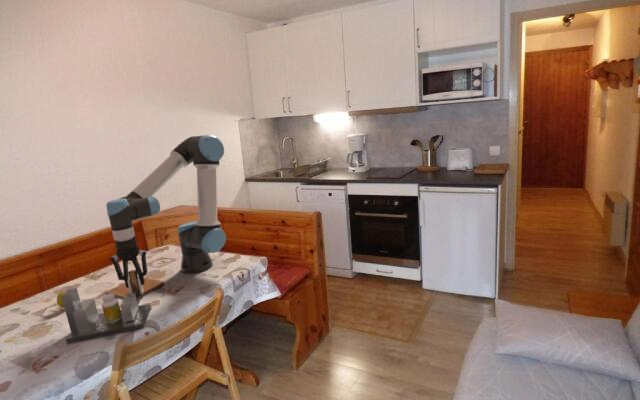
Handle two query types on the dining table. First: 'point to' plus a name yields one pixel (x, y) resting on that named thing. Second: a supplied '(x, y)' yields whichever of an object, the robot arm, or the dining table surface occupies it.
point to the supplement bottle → (111, 308)
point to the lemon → (60, 299)
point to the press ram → (131, 298)
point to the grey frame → (96, 319)
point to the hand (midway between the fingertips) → (137, 293)
